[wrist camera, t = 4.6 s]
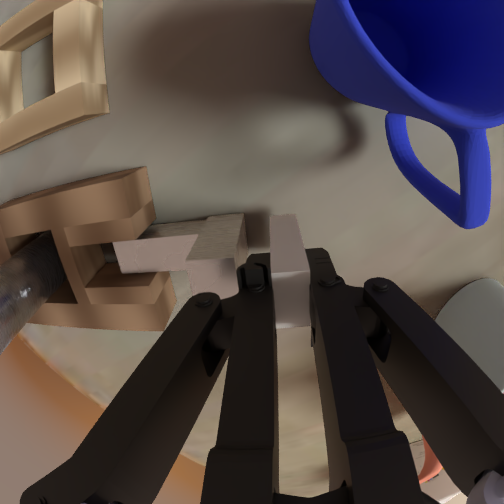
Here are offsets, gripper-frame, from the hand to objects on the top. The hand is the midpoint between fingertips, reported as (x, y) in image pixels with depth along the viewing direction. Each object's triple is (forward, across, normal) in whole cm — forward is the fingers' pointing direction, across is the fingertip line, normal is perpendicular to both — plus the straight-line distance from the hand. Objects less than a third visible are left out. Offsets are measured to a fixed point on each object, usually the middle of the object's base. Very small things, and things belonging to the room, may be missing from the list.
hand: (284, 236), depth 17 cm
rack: (+1, -15, +14) cm, 21 cm away
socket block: (+1, -15, 0) cm, 15 cm away
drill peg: (+1, -17, 0) cm, 17 cm away
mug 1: (+2, +6, +9) cm, 11 cm away
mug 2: (+2, +17, -12) cm, 21 cm away
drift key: (+1, -6, 0) cm, 6 cm away
